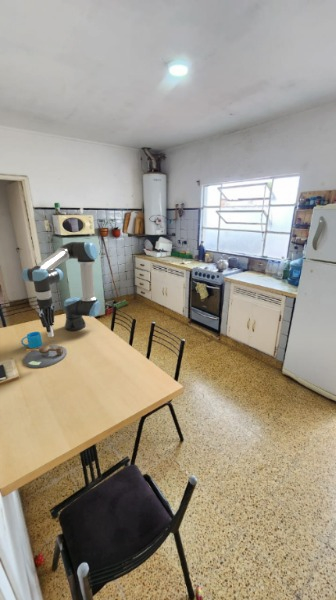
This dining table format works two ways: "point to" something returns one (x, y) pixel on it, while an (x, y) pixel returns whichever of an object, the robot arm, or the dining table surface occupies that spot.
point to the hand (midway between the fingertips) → (50, 336)
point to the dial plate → (43, 358)
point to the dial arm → (46, 348)
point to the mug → (33, 340)
